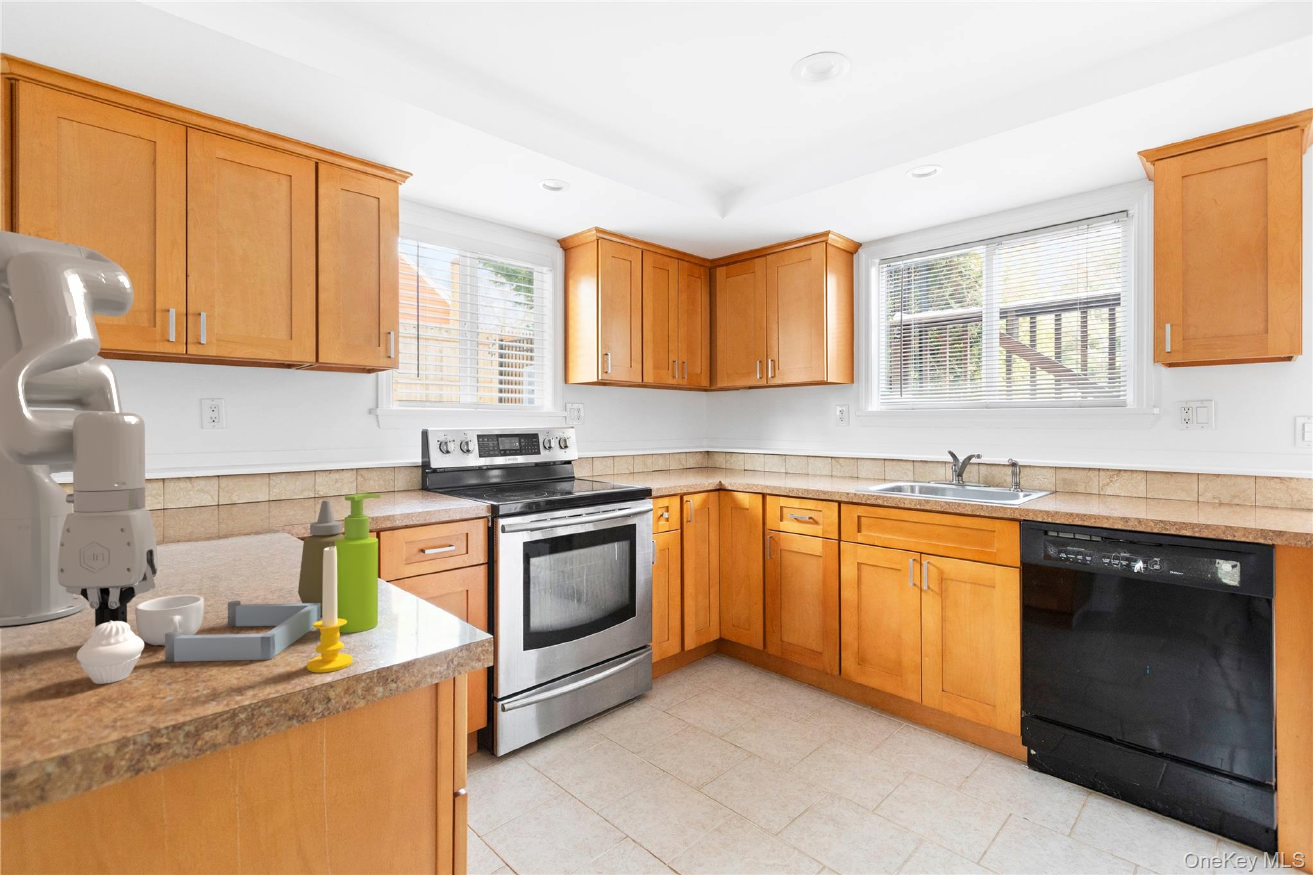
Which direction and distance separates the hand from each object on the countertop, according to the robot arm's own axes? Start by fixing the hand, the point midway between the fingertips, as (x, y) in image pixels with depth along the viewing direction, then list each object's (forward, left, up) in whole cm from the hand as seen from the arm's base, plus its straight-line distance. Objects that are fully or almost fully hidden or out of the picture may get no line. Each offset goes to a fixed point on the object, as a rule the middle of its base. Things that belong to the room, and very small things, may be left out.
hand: (111, 634), depth 88 cm
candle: (+33, -10, -1) cm, 34 cm away
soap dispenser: (+31, +6, -1) cm, 31 cm away
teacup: (+8, 0, -2) cm, 8 cm away
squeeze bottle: (+23, +14, -1) cm, 27 cm away
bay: (+18, 0, -1) cm, 18 cm away
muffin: (+9, -13, -1) cm, 16 cm away
